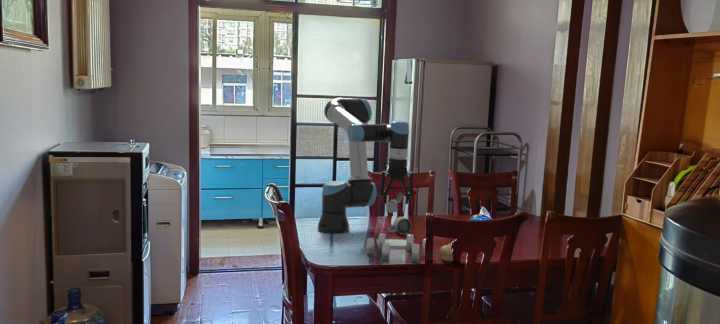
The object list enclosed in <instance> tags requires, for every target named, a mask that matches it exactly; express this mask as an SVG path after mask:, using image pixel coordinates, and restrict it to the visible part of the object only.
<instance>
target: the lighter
mask: <svg viewBox="0 0 720 324" xmlns="http://www.w3.org/2000/svg"><path fill="white" fill-rule="evenodd" d="M404 194H405V193H402V192H398V195H397V196H396V199H391V200H390V201H388V213H389V214H392V213H397V212H398V209H399V208H398V206H399V204H400V203H401V202H402V201H403V196H405V195H404Z"/></svg>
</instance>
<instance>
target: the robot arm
mask: <svg viewBox="0 0 720 324" xmlns="http://www.w3.org/2000/svg"><path fill="white" fill-rule="evenodd" d="M372 113H373V111H372V107H371V103H370V102H369V101H368V100H367V99H365V98H360V97H352V98H351V97H335V98H332V99H331V100H329V101H328V102H327V103H326V104H325V107H324V116H325V118H326V119H327V120H328V121H329V122H331V123H332V124H336V125H337V126H338V127H340V128H341V129H343V130H344V131H345V132H346V133H347V135H346V136H347V140H348V154H349V155H348V156H349V171H350V172H349V173H350V177H349V178H348V180H347V181H346V180H332V181H328V182H326V183H324V184H323V186H322V192H321V208H322V209H321V215H320V218H319V221H318V224H317V230H318V231H320V232H322V233H329V234H341V233H347V232H348V231H349V230H350V224H349V219H348V217H347V208H365V207H370V206H373V204H374V203H375V201H376V198H377V193H378V191H377V189H378V188H377V186H376V184H375V183H374V182H372V178H371V177H370V176H369V169H368V154H367V153H368V152H367V142H371V143H373V142H375V143H376V142H378V143H379V142H382V143H383V142H387V143H389V154H388V156H389V159H388V169H387V170H385V171H384V170H382V171H381V180H380V188H379V195H381V196H383V204H385V212H388V202H389V199H390V198H389V197H390V196H389V195H388V194H389V192H390V189H391V187H392V185H393V183H394V181H398V180H399V181H400V183H401V185H402V186H401V187H402V188H403V191H404V192H403V193H404V194H405V195H403V198H402V213H406V207H407V206H406V205H408V204H409V198H410V197H412V196H413V195H414V190H413V189H414V188H413V187H414V186H413V178H414V173H413V172H412V171H408V170H407V169H408V168H407V167H408V164H407V163H408V160H407V158H408V149H409V148H408V147H409V133H410V129H409V127H410V125H409V122H407V121H402V120H401V121H400V120H399V121H398V120H397V121H396V120H395V121H392V122H391V123H380V124H379V123H377V124H376V123H375V124H374V123H372V124H371V123H369V122H370V121H371V119H372ZM387 175H389V180H388V182H387V184H385V182H386V177H387ZM406 176H407V177H408V188H407V185H406V182H405V179H404V178H405V177H406ZM385 185H386V187H385ZM408 189H409V190H408ZM388 213H389V212H388Z"/></svg>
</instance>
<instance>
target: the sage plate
mask: <svg viewBox="0 0 720 324" xmlns="http://www.w3.org/2000/svg"><path fill="white" fill-rule="evenodd" d="M375 241H376V245H377V246H378V238H377V239H375ZM385 243H389V244H390V249H405V250H406V239H391V238H390V239H387V238H386V239H385Z"/></svg>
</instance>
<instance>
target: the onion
mask: <svg viewBox="0 0 720 324" xmlns="http://www.w3.org/2000/svg"><path fill="white" fill-rule="evenodd" d="M451 243H452V242H451ZM451 243H450V242H447V244H445V245H443V246H441V247H440V248H439V250H438V255H439V257H440V259H441V261H442V260H443V261H442V262H445V261H447V263H452V262H451V261H452V249H451Z"/></svg>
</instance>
